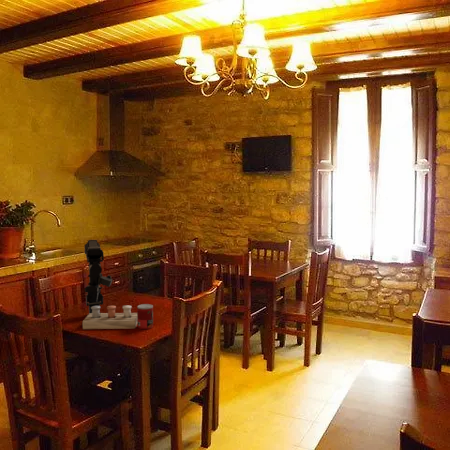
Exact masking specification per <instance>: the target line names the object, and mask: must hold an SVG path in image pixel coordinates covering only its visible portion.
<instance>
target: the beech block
mask: <svg viewBox="0 0 450 450" xmlns="http://www.w3.org/2000/svg"><path fill="white" fill-rule="evenodd" d="M88 314H89V313H88ZM88 314H87V315H86V316H85V318H84V319H83V320H82V330H104V329H106V330H111V329H112V330H118V329H119V330H121V329H124V330H126V329H136V328H137V326H138V321H137V312H131V318H124V312H115V318H108V312H106V313H104V312H100V318H92V313H90V314H89V315H88Z"/></svg>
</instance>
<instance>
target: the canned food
mask: <svg viewBox="0 0 450 450" xmlns="http://www.w3.org/2000/svg"><path fill="white" fill-rule="evenodd" d="M136 307H137V308H136V310H137V312H136V313H137V321H138V323H137V328H138V329H140V330H150V329H152V328H153V327H154V305H153V304H149V303H142V304H139V305H137V306H136Z"/></svg>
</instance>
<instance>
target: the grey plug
mask: <svg viewBox="0 0 450 450" xmlns="http://www.w3.org/2000/svg"><path fill="white" fill-rule="evenodd" d="M91 309H92V318H100V313H101V311H99V309H100V310H101V306H92V307H91Z"/></svg>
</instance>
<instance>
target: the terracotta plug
mask: <svg viewBox="0 0 450 450" xmlns="http://www.w3.org/2000/svg"><path fill="white" fill-rule="evenodd" d="M106 309H107V313H108V318H115V313H116V309H117V306H116V305H108V306H107V307H106Z"/></svg>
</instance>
